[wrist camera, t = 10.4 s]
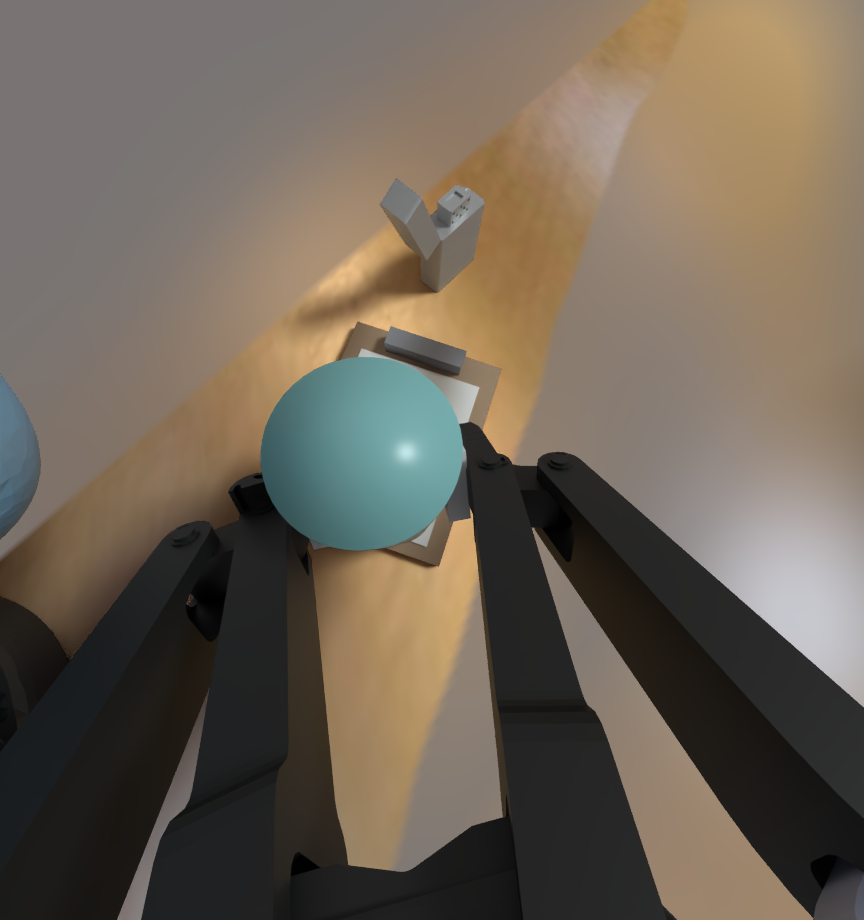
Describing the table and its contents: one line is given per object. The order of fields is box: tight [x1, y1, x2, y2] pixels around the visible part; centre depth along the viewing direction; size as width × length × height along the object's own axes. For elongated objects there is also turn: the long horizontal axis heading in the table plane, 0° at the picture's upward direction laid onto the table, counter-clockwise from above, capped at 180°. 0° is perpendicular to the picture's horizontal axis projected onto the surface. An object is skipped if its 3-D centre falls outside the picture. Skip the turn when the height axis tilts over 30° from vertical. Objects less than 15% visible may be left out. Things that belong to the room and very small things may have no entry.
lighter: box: [380, 179, 484, 292], centre depth 20 cm, size 7×2×8 cm, turn 138°
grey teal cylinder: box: [261, 357, 463, 550], centre depth 13 cm, size 4×4×12 cm
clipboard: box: [341, 322, 502, 567], centre depth 21 cm, size 10×13×2 cm
